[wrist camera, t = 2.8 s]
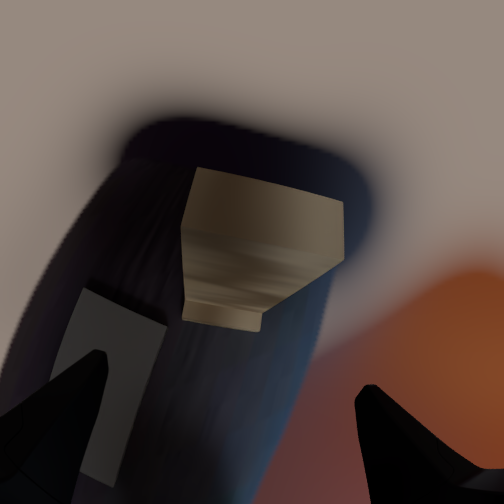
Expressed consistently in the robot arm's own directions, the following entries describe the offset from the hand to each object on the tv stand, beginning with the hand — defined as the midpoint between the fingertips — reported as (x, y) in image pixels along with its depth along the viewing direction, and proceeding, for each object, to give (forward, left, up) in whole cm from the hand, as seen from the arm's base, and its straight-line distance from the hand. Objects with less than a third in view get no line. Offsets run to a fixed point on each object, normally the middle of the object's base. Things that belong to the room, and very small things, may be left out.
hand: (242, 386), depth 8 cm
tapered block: (+1, -6, -12) cm, 13 cm away
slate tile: (+8, +5, -12) cm, 15 cm away
